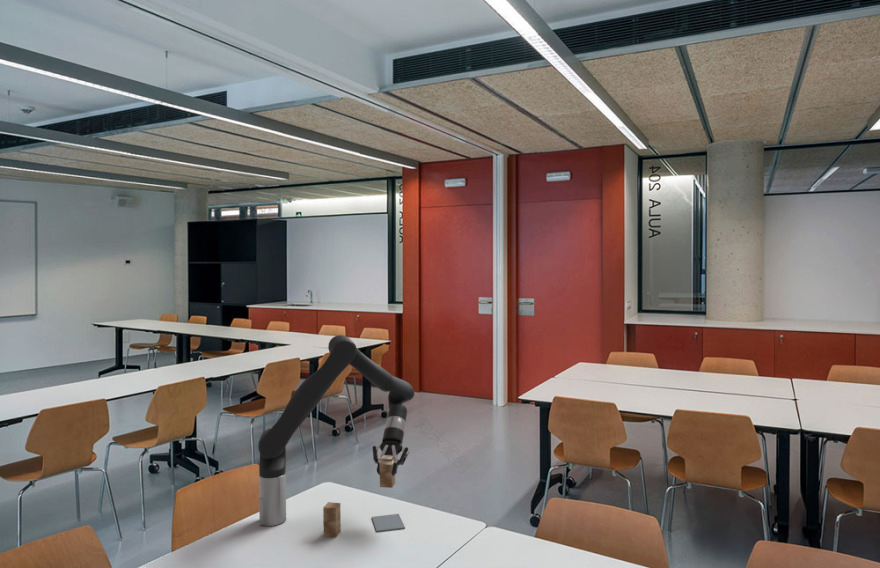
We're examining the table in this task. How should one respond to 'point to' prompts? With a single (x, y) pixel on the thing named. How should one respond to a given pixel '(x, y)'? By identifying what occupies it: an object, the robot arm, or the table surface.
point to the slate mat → (388, 522)
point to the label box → (386, 471)
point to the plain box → (332, 519)
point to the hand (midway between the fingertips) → (386, 474)
